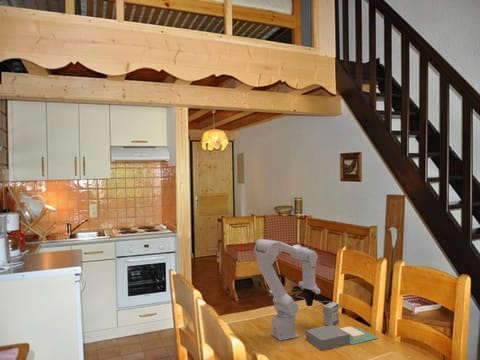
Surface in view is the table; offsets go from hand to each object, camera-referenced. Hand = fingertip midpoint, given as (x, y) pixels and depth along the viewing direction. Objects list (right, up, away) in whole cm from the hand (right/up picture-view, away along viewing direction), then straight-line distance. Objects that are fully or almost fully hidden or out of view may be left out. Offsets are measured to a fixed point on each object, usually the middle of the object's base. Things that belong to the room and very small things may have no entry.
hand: (309, 305), depth 168 cm
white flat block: (+16, -7, -11) cm, 21 cm away
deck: (+5, -10, -16) cm, 19 cm away
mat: (+17, -10, -10) cm, 22 cm away
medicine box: (+11, -10, +5) cm, 16 cm away
